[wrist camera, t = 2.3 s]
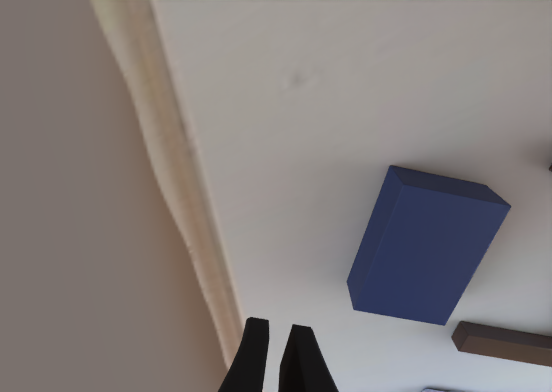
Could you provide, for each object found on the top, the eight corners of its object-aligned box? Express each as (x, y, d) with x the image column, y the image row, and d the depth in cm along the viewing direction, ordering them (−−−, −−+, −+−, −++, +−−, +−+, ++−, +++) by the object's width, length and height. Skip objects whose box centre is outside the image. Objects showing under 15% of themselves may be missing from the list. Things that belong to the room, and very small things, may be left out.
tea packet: (429, 296, 23) (444, 326, 21) (346, 281, 23) (353, 310, 21) (486, 184, 20) (512, 206, 18) (389, 165, 20) (403, 184, 17)
